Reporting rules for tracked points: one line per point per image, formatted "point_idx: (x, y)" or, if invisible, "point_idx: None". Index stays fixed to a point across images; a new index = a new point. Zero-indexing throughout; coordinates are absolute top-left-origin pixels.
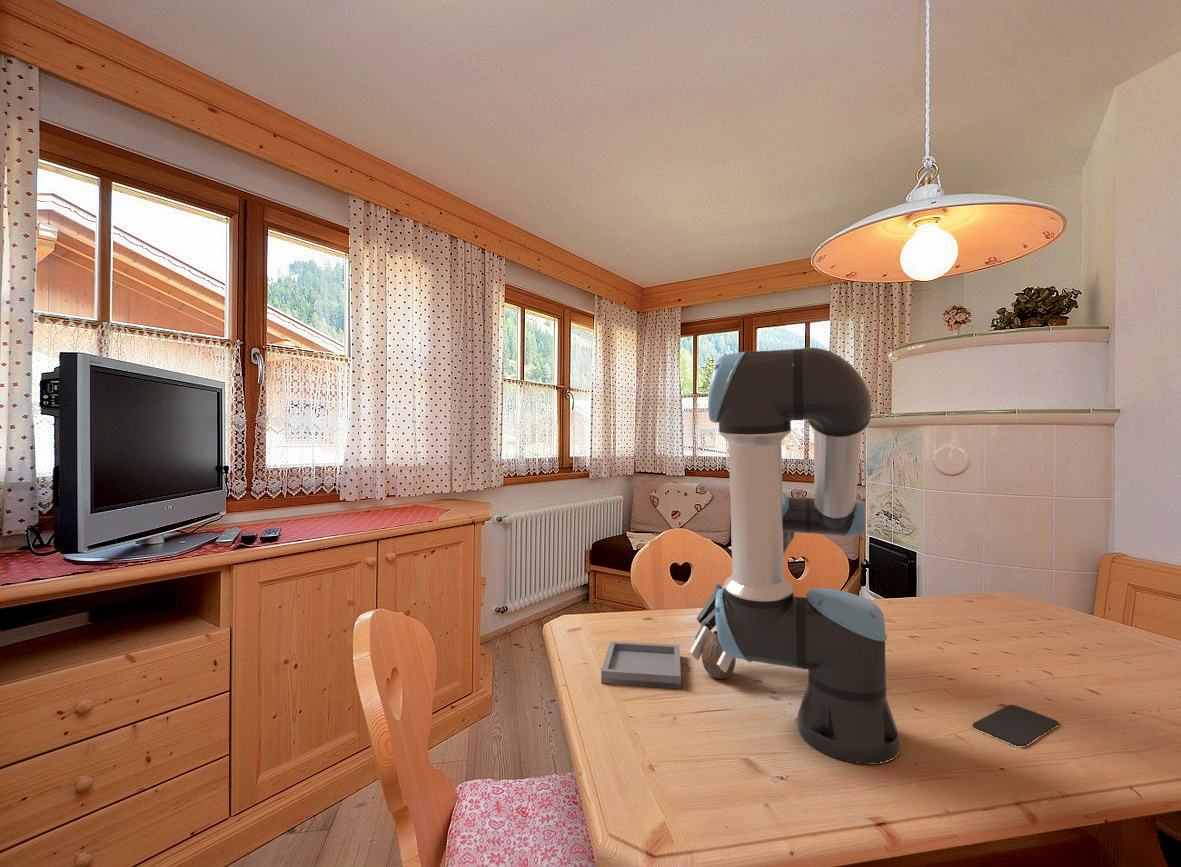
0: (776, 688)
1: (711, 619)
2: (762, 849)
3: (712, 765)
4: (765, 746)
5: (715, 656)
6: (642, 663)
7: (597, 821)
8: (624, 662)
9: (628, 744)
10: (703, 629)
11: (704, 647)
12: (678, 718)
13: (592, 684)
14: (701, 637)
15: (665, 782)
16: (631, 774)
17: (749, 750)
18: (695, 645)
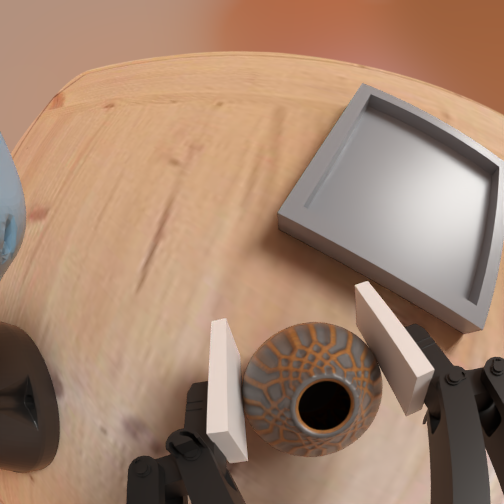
0: None
1: (444, 425)
2: None
3: (65, 167)
4: (42, 260)
5: (267, 343)
6: (422, 192)
7: (98, 68)
8: (431, 159)
9: (159, 91)
10: (416, 359)
11: (339, 330)
12: (168, 167)
13: None
14: (388, 337)
15: (85, 114)
16: (116, 89)
17: (50, 230)
18: (371, 302)
